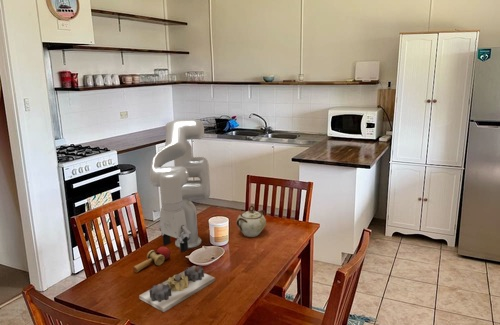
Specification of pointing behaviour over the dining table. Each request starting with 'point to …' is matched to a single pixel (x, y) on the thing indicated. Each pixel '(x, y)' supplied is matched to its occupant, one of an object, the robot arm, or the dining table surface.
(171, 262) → the dining table surface
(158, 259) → the kendama
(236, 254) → the dining table surface
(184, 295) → the gear board
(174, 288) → the brass gear
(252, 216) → the teapot
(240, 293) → the dining table surface
